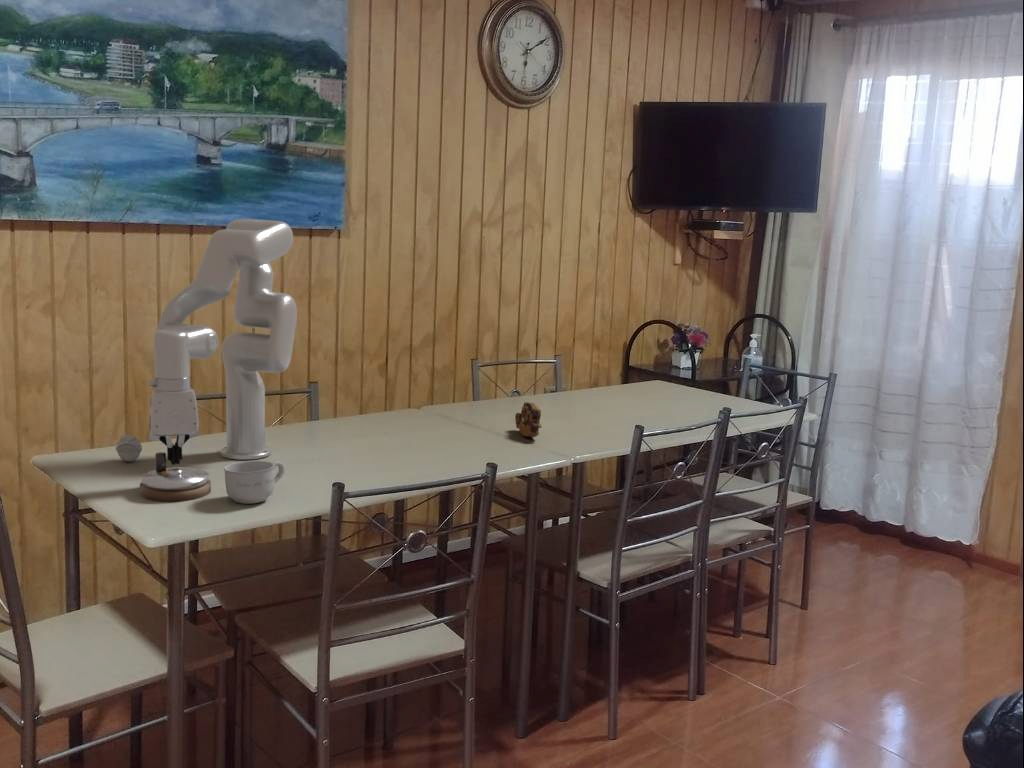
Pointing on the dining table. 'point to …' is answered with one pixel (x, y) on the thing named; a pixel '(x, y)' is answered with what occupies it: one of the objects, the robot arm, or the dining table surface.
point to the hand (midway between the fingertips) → (174, 462)
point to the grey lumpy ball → (128, 448)
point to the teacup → (251, 480)
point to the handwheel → (173, 476)
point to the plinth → (175, 493)
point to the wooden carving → (529, 420)
